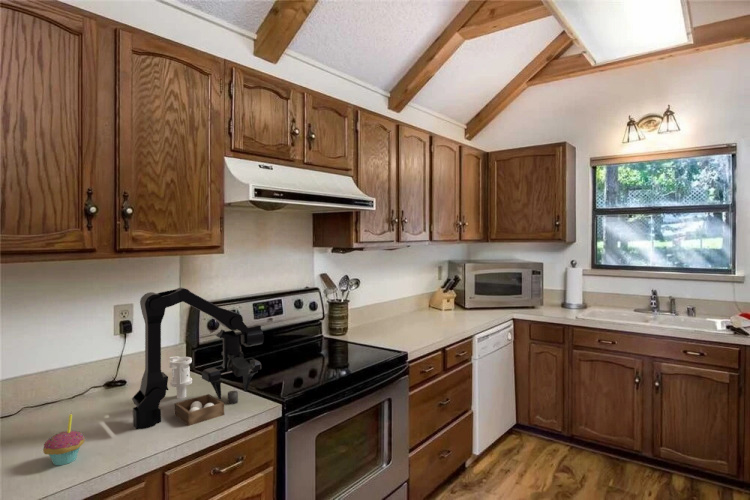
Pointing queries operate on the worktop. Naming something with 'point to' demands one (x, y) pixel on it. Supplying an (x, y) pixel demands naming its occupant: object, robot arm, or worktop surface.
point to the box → (199, 410)
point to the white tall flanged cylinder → (180, 374)
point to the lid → (232, 397)
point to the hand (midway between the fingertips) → (232, 395)
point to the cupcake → (64, 445)
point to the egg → (196, 405)
